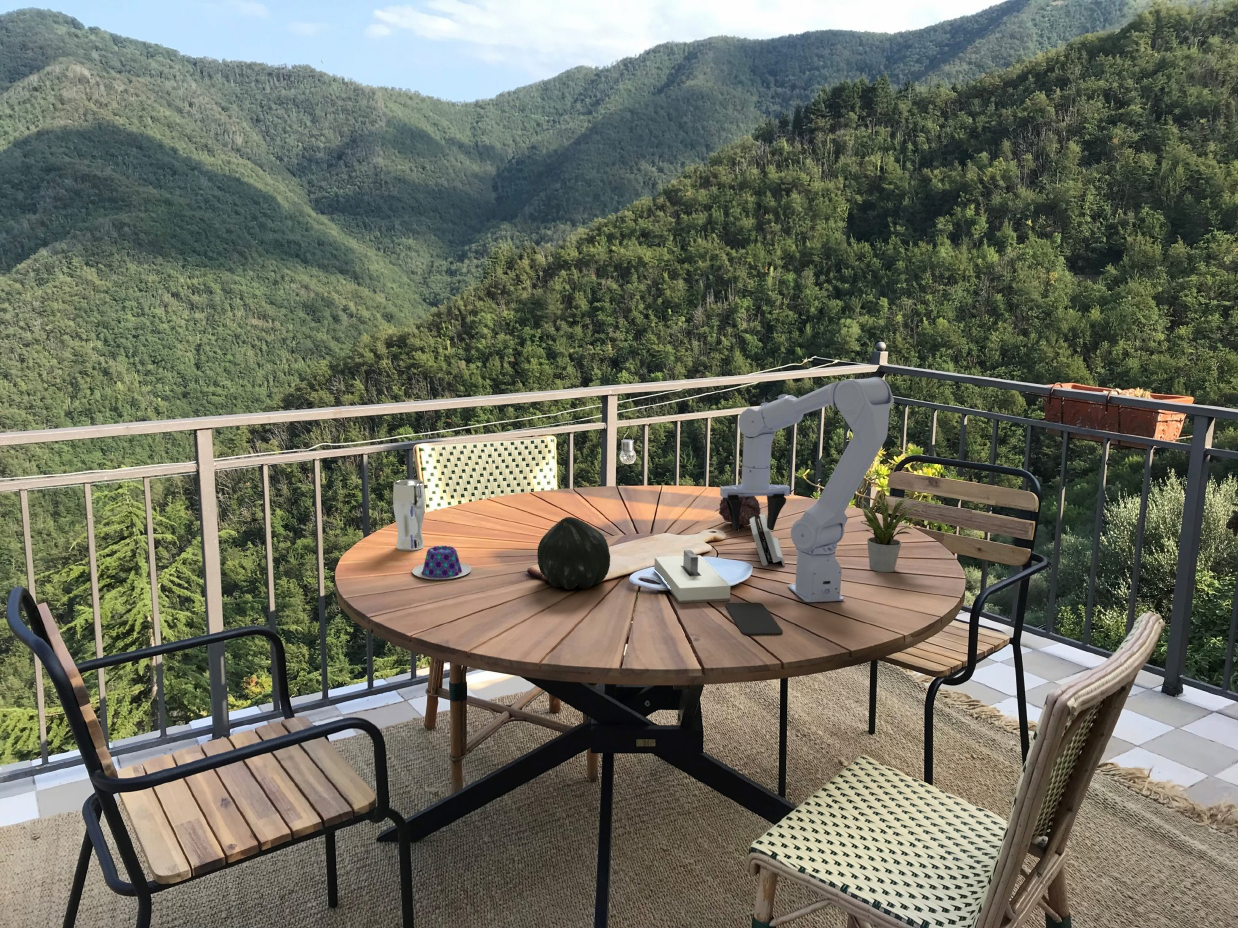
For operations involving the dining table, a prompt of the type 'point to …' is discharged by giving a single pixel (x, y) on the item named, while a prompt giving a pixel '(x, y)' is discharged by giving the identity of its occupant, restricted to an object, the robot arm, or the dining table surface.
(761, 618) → the phone
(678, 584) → the post foot
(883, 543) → the house plant
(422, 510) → the beer glass
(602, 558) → the squash
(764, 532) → the grey and black device
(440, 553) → the pudding
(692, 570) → the metal block
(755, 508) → the pine cone
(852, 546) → the dining table surface
